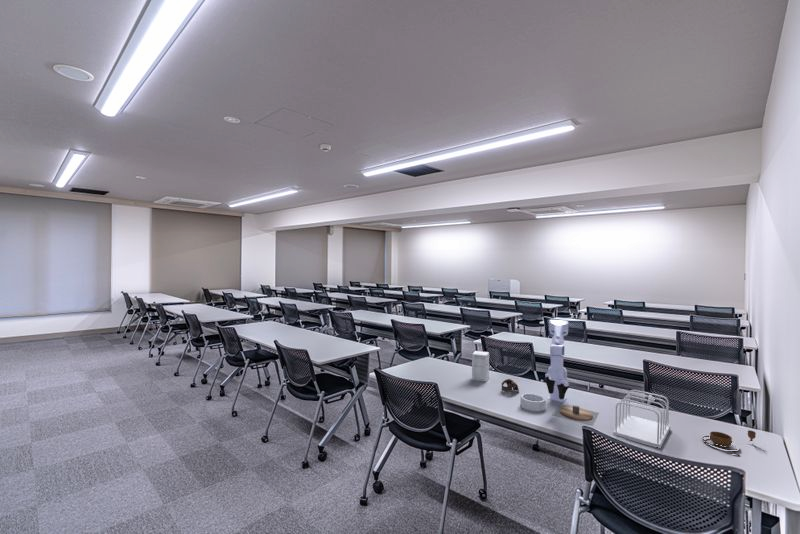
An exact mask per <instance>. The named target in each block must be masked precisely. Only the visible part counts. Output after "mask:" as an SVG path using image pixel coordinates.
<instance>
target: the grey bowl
mask: <svg viewBox="0 0 800 534" xmlns="http://www.w3.org/2000/svg"><path fill="white" fill-rule="evenodd" d="M546 403H547V399H546V397H544V396H543V395H541V394H537V393H536V394H535V393H529V392H528V393H522V394H521V395H520V407H521V409H524V410H526V411H531V412H542V411H545V410H546V408H547V407H546Z"/></svg>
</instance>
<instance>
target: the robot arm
mask: <svg viewBox="0 0 800 534" xmlns="http://www.w3.org/2000/svg"><path fill="white" fill-rule="evenodd" d="M548 321H549V322H548V330H549V331H548V332H549V334H551V335H552V336H551V337H552V338H551V345H550V347H549V355H550V366H548V369H547V373H545V374H544V375H545V378H544V382H545V384H546V387H547V390H548V393H549V396H548V397H547V399H548V400H550V401H555V402H559V403H563V402H564V401H565V400H566V399H567V396H566V393H567V391H568V390H569V388H570V385H569V384H570V382H569V381H568V370H567V368H566V367H565V366H564V357H565V340H564V337H565V336H568V334H569V321H568V320H561V319H549V320H548Z"/></svg>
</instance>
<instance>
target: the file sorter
mask: <svg viewBox="0 0 800 534" xmlns="http://www.w3.org/2000/svg"><path fill="white" fill-rule="evenodd" d="M634 395H637V396H641V397H645V398H641V397H637V396H634ZM650 395H652V396H650ZM655 396H656V397H655ZM659 397H660V398H659ZM631 398H633V399H631ZM646 398H650V399H654V400H658V401H661V402H663V403H664V404H665V406H664V405H663V404H662V403H661V402H657V401H653V400H649V399H646ZM661 398H662V399H661ZM634 399H637V400H639V401H637V400H634ZM664 399H665V400H664ZM641 401H645V402H648V403H652V404H656V405H660V406H661V408H662V409H663V411H662V410H661V408H660V407H658V406H655V405H651V404H648V403H645V402H641ZM633 403H635V404H639V405H643V406H639V405H635V404H633ZM669 405H670V401H669V400H668V398H667V397H666V396H664V395H661V394H656V393H653V392H652V393H651V392H647V391H643V390H638V389H631V390H630V391H629V392H628V393H627V394H626V395H625V396H624V397H623V399H621V400H620V401H619V402H617V403H616V405H615V429H614V430H613V432H612V434H613V435H615V436H617V437H621V438H624V439H625V440H628V441H632V442H636V443H639V444H642V445H646V446H650V447H652V448H656V447H658V448H657V449H659V448H660V449H661V447H662V446H663V444H664V442H665V440H666V439H667V437H668V435H669V433H670V432H671V431H670V430H671V425H670V424H669V415H670V414H669V413H670V410H669V409H670V406H669ZM630 406H631V407H635V408H640V409H644V410H647V411H651V412H654V413H655V415H657V421H654V420H651V419H650V420H649V419H646V418H644V417H638V416H635V415H631V414H630V413H631V407H630ZM644 406H647V407H649V408H647V407H644ZM618 407H619V413H618ZM650 407H651V408H654V409H651V408H650ZM655 409H657V410H658V411H659V412H660V415H659V413H658V411H656V410H655ZM618 415H619V416H618ZM621 416H622V417H621ZM618 418H619V419H618ZM621 419H622V420H621Z"/></svg>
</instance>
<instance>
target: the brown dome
mask: <svg viewBox="0 0 800 534" xmlns="http://www.w3.org/2000/svg"><path fill="white" fill-rule="evenodd" d="M505 384H506V385H507V386H504V385H505ZM519 389H520V388H519V386H518V384H517V383H516V382H515V381H514V380H513V379H510V378H507V379H505V380H503V381H502V382H501V392H510V391H516V392H517V393H518V394H520V390H519Z"/></svg>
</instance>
